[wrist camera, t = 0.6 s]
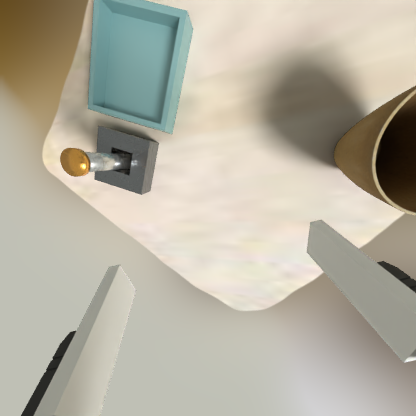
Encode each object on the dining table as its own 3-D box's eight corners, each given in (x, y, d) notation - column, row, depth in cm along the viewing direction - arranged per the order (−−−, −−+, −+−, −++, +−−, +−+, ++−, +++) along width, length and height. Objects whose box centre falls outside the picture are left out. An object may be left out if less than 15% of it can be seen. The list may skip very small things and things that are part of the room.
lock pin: (124, 149, 39) (60, 144, 25) (141, 154, 39) (85, 152, 24) (122, 167, 40) (60, 172, 26) (138, 172, 40) (84, 179, 26)
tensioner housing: (112, 129, 38) (98, 125, 34) (158, 143, 37) (150, 141, 33) (107, 177, 41) (94, 179, 38) (150, 191, 41) (141, 194, 37)
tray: (111, 8, 32) (94, -12, 28) (193, 28, 31) (187, 10, 27) (102, 113, 37) (87, 108, 34) (172, 134, 36) (164, 131, 33)
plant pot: (300, 134, 33) (355, 114, 18) (390, 89, 29) (560, 13, 14) (325, 204, 35) (393, 238, 20) (411, 171, 32) (575, 182, 16)
